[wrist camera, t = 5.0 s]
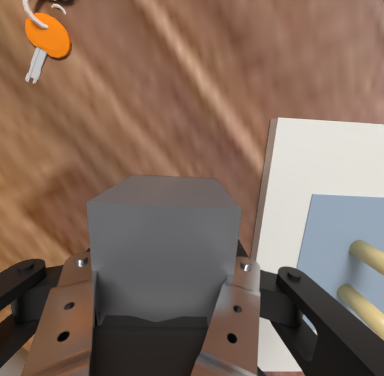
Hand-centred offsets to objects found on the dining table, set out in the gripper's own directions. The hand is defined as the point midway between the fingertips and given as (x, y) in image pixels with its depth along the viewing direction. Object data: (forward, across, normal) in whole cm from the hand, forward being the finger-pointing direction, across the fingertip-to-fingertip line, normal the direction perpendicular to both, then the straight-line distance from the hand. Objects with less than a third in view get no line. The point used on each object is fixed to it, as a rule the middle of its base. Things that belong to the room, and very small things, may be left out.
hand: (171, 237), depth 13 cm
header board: (+1, -13, +2) cm, 13 cm away
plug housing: (+1, 0, 0) cm, 1 cm away
